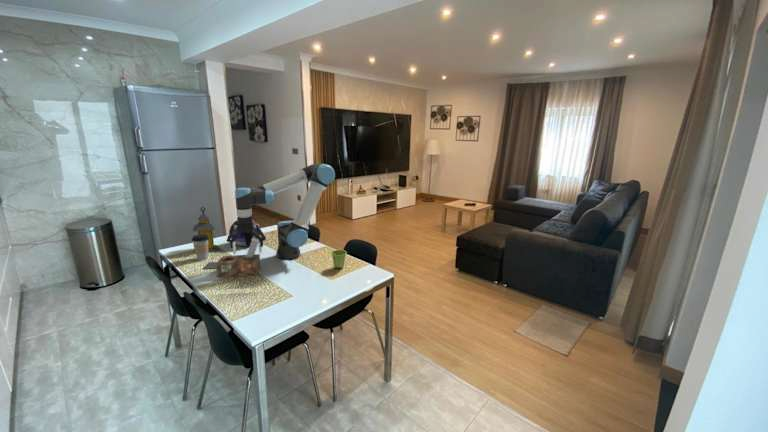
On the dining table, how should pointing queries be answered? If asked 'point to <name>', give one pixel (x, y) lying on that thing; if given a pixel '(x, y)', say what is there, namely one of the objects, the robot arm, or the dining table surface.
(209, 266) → the mat
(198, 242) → the coffee cup
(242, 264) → the socket block
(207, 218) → the lantern
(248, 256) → the plug
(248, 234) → the decorative sphere
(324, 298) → the dining table surface
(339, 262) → the plant pot
